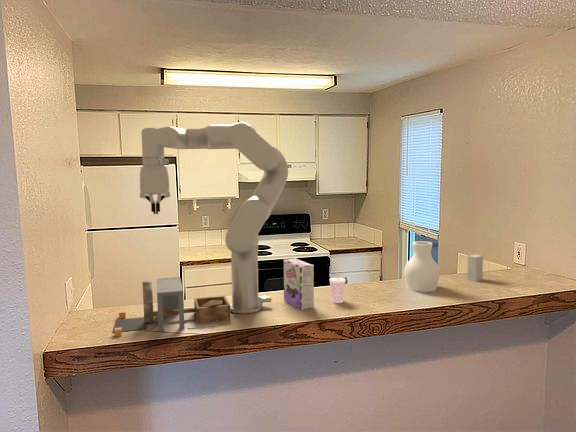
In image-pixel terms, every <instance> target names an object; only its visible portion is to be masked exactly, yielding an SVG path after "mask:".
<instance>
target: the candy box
mask: <svg viewBox="0 0 576 432" xmlns="http://www.w3.org/2000/svg"><path fill="white" fill-rule="evenodd" d="M282 261H283V301H284V302H287V303H288V304H290V305H291V306H292V307H295V308H297V309H298V310H300V311H301V310H308V309H313V308H314V306H315V305H314V302H315V301H314V298H315V297H314V296H315V295H314V293H315V292H314V289H315V288H314V286H315V285H314V283H315V282H314V281H315V278H314V277H315V274H314V273H315V268H314V267H315V266H314V265H315V264H311V263H308V262H306V261H304V260H301V259H298V258H289V259H283V260H282Z"/></svg>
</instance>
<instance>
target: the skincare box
mask: <svg viewBox="0 0 576 432" xmlns="http://www.w3.org/2000/svg"><path fill="white" fill-rule="evenodd" d="M483 267H484V256H483V255H481V254H475V253H474V254H471V255H468V256H467V268H466V269H467V273H466V275H467V279H466V280H467V281H470V282H476V283H477V282H480V281H482V280H483V277H484V276H483V273H484V272H483V271H484V269H483Z"/></svg>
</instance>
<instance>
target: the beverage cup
mask: <svg viewBox="0 0 576 432" xmlns="http://www.w3.org/2000/svg"><path fill="white" fill-rule="evenodd" d="M329 283H330V285H329V286H330V298H331V301H330V302H331V303H335V304H341V303H343V302H344V298H345V285H346V284H345V283H346V278H344V277H339V266H338V265H337V266H336V277H331V278H329Z"/></svg>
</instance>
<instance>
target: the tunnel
mask: <svg viewBox="0 0 576 432" xmlns="http://www.w3.org/2000/svg"><path fill="white" fill-rule="evenodd" d="M156 297H157V298H156V302H157V311H158V316H157V321H158V322H157V325H158V326H157V327H158V332H164V315H163V310H174V309H179V314H178V318H179V319H178V320H179V321H178V322H179V324H178V325H179V330H185V313H184V307H185V306H184V305H185V304H184V289H183V283H182V278H181V277H180V276H179V277H178V276H177V277H168V278H167V277H165V278H157V279H156ZM126 313H127V311H126V310H119V311H118V316H119V317H118V318H119V319H115V322H114V325H113V329H112V332H111V333H112V334H114V337H122V335H123V332H125V333H126V332H132V331H141V330H146V329H147V323H145V322H144V316H141V317H131V318H126V317H127V315H126ZM217 326H220V324H219V323H215V324H206V325H204V324H203V325H196V326H195V325H194V326H188V327H187V330H191V329H199V328H208V327H217Z"/></svg>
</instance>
